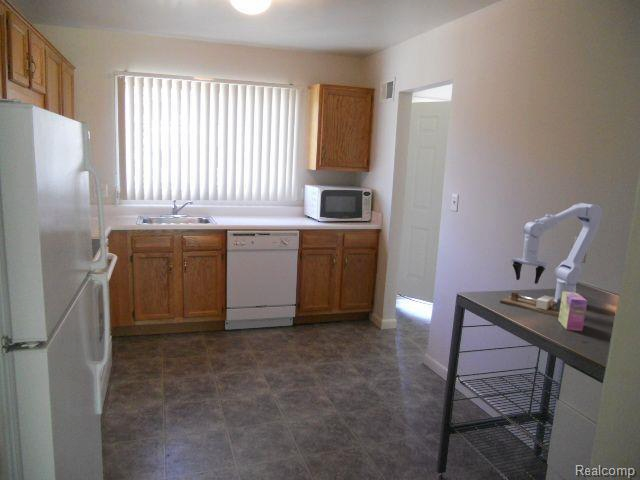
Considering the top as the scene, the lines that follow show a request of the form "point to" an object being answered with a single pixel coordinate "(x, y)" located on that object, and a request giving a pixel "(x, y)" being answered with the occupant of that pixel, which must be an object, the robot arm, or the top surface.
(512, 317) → the top surface
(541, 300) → the sleeve
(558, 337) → the top surface
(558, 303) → the end block
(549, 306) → the stop band
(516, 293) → the guide board
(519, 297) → the guide rod
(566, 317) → the box
